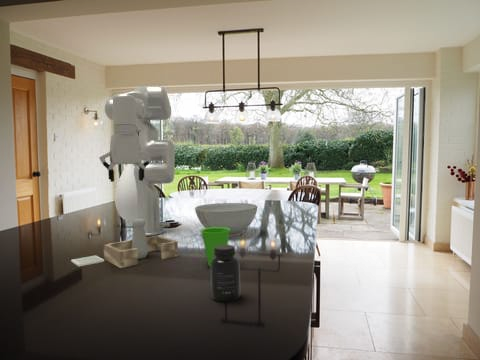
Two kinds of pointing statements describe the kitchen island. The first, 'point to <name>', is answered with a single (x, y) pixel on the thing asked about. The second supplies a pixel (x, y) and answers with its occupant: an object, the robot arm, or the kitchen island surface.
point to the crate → (127, 257)
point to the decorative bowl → (227, 216)
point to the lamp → (127, 195)
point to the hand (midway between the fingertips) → (126, 181)
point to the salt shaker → (139, 238)
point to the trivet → (87, 260)
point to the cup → (214, 240)
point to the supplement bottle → (225, 274)
